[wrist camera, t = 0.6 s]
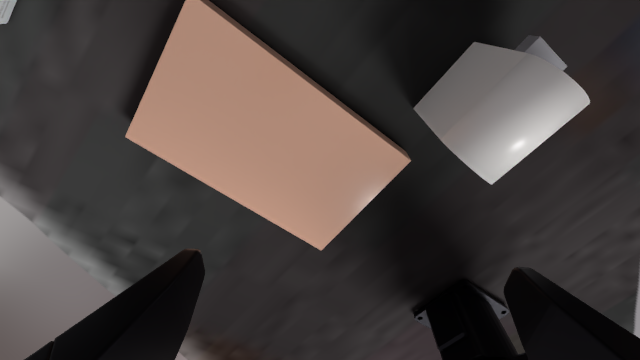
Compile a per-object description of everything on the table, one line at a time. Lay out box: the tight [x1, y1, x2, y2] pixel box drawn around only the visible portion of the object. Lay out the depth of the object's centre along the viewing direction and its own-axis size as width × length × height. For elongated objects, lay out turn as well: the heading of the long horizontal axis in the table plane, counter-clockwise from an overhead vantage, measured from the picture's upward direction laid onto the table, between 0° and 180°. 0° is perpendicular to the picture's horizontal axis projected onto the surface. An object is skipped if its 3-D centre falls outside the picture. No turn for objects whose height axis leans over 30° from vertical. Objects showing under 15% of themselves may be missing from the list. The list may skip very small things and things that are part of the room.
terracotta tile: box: [125, 0, 411, 250], centre depth 20 cm, size 16×10×2 cm, turn 53°
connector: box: [413, 35, 590, 184], centre depth 16 cm, size 4×6×7 cm, turn 143°
